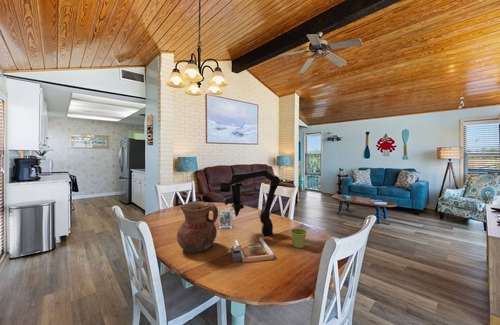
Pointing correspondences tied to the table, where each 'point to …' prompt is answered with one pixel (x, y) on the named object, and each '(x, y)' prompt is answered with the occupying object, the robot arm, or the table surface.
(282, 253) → the table surface
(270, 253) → the bay
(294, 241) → the plant pot
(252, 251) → the crate
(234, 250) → the winch
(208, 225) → the jug
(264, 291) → the table surface
